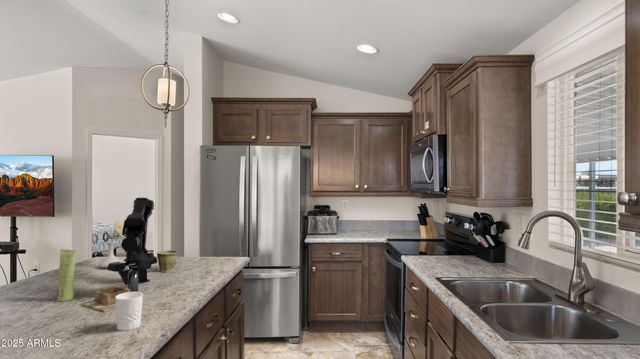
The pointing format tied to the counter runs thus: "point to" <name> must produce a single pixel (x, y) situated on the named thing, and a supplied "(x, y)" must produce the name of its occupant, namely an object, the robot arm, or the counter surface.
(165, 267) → the ceramic cup
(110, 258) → the flower in vase
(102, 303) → the well
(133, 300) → the white cup
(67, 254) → the tube
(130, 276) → the peg
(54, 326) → the counter surface
